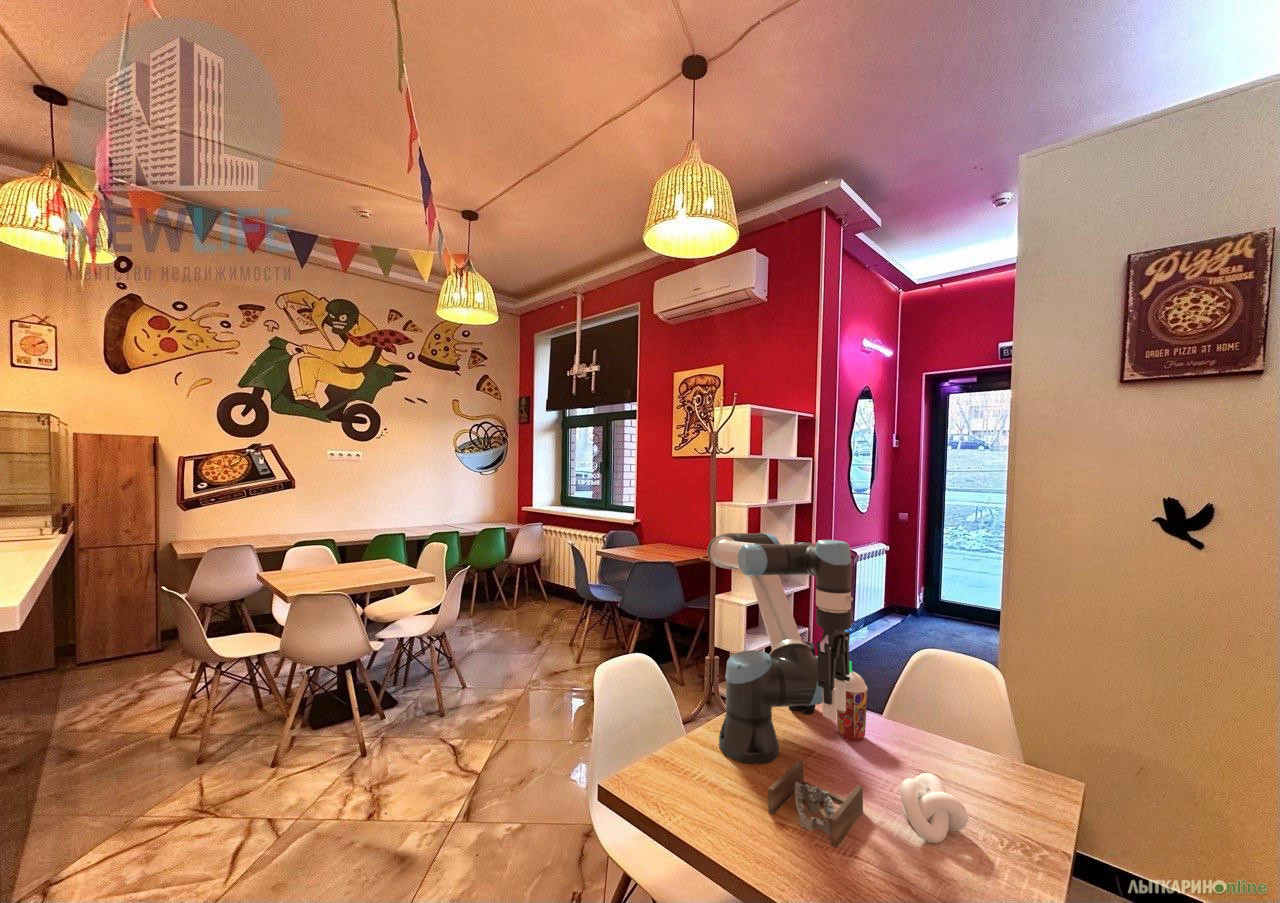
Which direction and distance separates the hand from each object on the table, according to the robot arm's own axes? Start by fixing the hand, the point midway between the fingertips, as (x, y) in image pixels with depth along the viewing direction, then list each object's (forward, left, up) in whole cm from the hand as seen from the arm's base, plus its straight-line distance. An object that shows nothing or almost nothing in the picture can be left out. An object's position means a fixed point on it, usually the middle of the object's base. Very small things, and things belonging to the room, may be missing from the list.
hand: (834, 713), depth 110 cm
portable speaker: (-23, +33, -17) cm, 43 cm away
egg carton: (0, -11, -17) cm, 21 cm away
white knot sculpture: (+18, +2, -17) cm, 25 cm away
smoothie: (-6, +27, -17) cm, 32 cm away
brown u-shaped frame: (0, -10, -17) cm, 20 cm away
